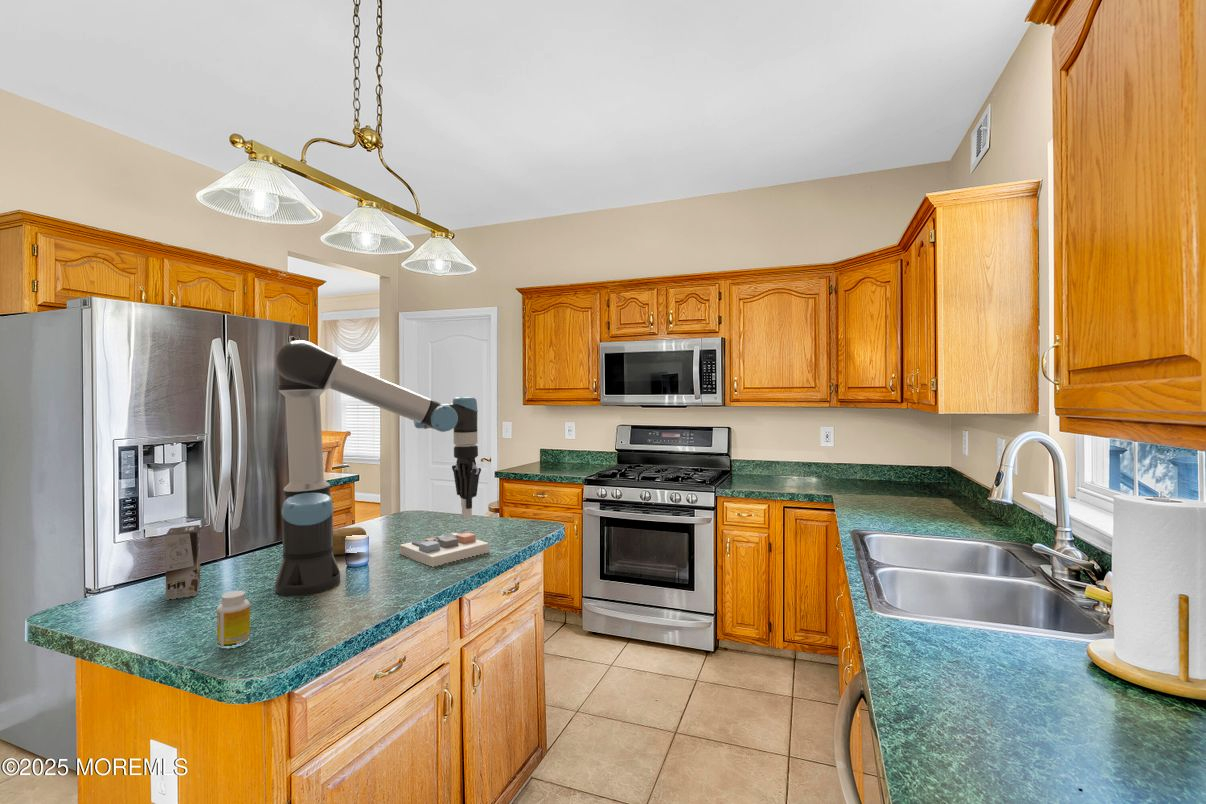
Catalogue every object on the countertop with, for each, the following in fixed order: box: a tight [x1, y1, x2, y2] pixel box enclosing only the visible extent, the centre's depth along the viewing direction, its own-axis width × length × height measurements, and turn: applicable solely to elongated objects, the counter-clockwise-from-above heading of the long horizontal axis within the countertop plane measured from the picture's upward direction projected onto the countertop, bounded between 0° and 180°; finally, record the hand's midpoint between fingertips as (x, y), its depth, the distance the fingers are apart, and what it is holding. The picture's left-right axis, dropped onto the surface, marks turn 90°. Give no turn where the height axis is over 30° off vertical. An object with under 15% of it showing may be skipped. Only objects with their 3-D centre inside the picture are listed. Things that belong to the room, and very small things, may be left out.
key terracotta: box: [456, 532, 477, 544], centre depth 177 cm, size 4×4×3 cm
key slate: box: [419, 540, 440, 553], centre depth 167 cm, size 4×4×3 cm
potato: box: [333, 526, 367, 556], centre depth 172 cm, size 10×14×8 cm
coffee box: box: [165, 524, 201, 601], centre depth 139 cm, size 9×6×16 cm
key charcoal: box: [438, 536, 458, 548], centre depth 172 cm, size 4×4×3 cm
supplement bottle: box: [216, 590, 251, 646], centre depth 111 cm, size 6×6×10 cm
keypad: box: [399, 532, 490, 568], centre depth 173 cm, size 20×19×4 cm
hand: (466, 518), depth 177 cm, fingers closed
